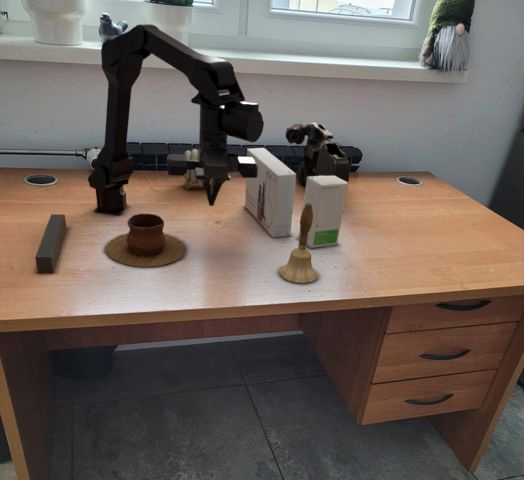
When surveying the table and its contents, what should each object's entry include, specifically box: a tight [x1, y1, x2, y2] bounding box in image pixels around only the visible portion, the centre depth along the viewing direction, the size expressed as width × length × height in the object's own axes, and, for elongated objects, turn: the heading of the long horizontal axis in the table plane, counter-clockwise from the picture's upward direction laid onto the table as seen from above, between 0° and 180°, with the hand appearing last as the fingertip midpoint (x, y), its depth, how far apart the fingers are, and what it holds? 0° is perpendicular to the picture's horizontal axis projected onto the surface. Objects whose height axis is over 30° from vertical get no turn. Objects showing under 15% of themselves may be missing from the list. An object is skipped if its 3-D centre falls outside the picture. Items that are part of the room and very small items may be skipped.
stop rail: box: [34, 213, 68, 274], centre depth 112 cm, size 3×22×4 cm, turn 10°
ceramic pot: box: [104, 213, 187, 268], centre depth 115 cm, size 18×18×7 cm
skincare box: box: [244, 147, 297, 238], centre depth 132 cm, size 21×5×16 cm, turn 22°
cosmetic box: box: [297, 176, 349, 249], centre depth 124 cm, size 8×7×16 cm
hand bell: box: [279, 203, 318, 284], centre depth 109 cm, size 8×8×16 cm
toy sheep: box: [183, 148, 213, 191], centre depth 149 cm, size 11×17×11 cm, turn 99°
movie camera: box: [285, 122, 350, 187], centre depth 153 cm, size 31×18×18 cm, turn 13°
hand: (211, 205), depth 113 cm, fingers closed
